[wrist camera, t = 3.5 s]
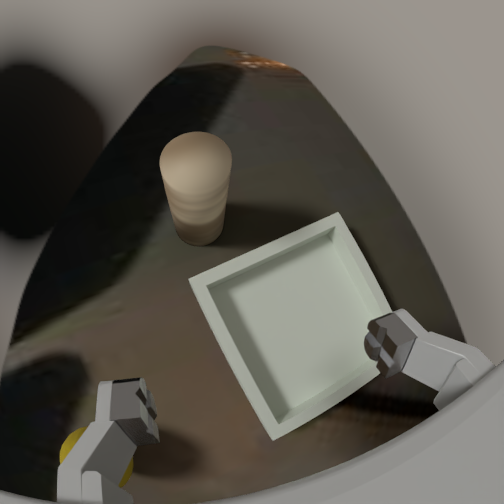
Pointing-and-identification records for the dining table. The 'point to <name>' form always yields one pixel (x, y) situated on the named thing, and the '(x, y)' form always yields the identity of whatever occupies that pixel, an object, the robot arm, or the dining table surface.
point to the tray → (295, 321)
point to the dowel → (197, 185)
